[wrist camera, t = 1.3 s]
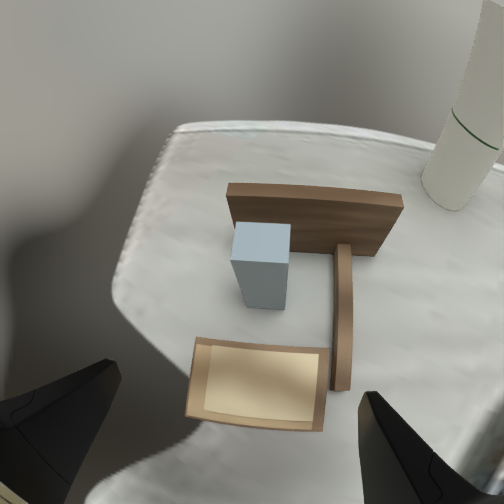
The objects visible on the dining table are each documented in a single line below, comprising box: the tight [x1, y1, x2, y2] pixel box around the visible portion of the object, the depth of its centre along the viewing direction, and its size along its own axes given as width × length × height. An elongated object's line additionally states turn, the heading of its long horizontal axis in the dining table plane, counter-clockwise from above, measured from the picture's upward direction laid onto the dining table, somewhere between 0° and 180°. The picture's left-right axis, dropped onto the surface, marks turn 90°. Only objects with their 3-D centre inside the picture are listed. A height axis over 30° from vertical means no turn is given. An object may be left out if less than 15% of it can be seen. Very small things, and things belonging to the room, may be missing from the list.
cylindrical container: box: [421, 0, 504, 211], centre depth 17 cm, size 7×7×25 cm
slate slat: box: [230, 222, 291, 310], centre depth 20 cm, size 2×3×10 cm
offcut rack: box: [185, 183, 404, 432], centre depth 19 cm, size 17×16×8 cm
